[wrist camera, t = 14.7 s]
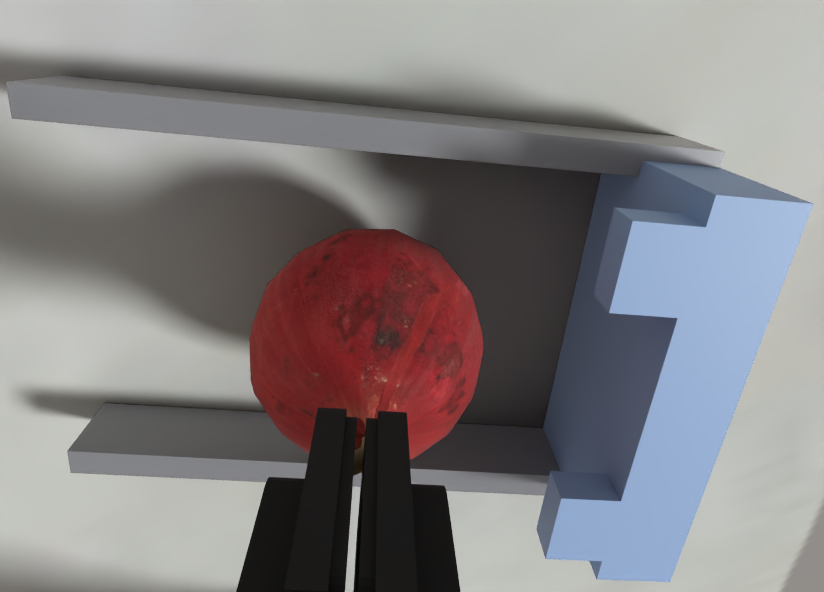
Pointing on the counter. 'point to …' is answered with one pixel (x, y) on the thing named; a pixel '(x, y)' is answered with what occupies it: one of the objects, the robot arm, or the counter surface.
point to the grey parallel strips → (342, 129)
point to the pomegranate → (366, 338)
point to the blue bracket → (658, 358)
